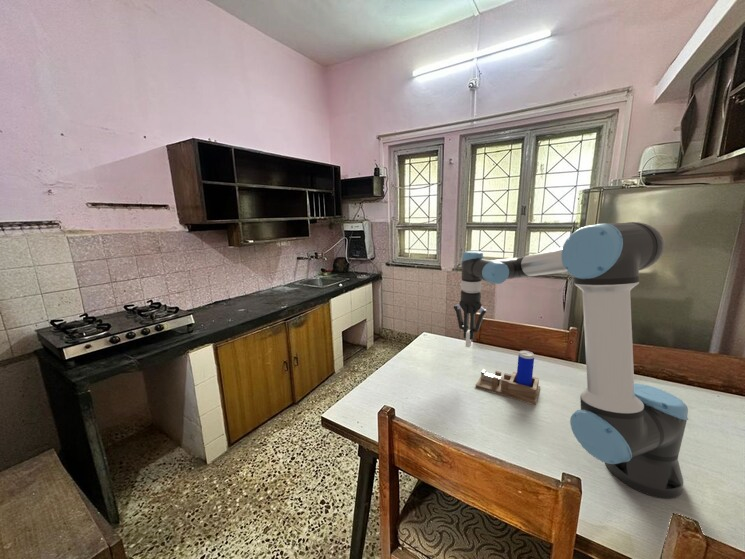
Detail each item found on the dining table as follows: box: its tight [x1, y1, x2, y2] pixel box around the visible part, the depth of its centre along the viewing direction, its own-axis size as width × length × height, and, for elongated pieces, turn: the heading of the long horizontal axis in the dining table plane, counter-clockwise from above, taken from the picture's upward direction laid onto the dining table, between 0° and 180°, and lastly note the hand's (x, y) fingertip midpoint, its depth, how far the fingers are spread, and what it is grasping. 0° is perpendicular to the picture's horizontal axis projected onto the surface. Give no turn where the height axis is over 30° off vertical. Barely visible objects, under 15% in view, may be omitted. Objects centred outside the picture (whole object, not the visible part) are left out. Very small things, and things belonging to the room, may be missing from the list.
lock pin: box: [480, 368, 502, 384], centre depth 118 cm, size 3×7×3 cm, turn 55°
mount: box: [475, 370, 541, 406], centre depth 115 cm, size 12×21×5 cm, turn 55°
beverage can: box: [516, 350, 535, 387], centre depth 110 cm, size 5×5×15 cm
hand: (468, 345), depth 121 cm, fingers closed
